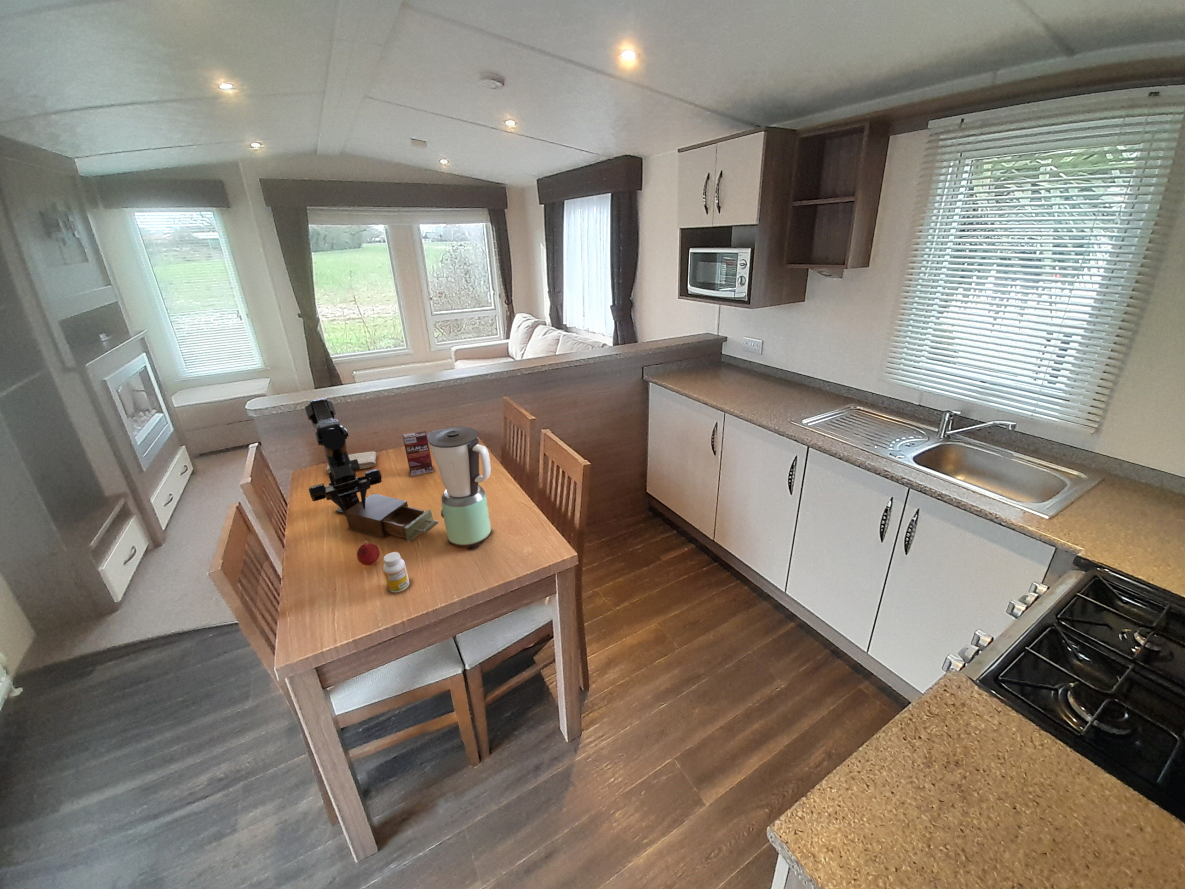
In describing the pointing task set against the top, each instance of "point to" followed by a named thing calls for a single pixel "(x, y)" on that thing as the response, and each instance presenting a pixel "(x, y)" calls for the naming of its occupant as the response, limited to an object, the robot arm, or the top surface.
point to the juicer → (462, 484)
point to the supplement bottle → (395, 572)
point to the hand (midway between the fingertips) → (355, 511)
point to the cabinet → (373, 514)
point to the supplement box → (418, 453)
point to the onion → (368, 553)
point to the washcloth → (362, 459)
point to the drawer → (408, 522)
